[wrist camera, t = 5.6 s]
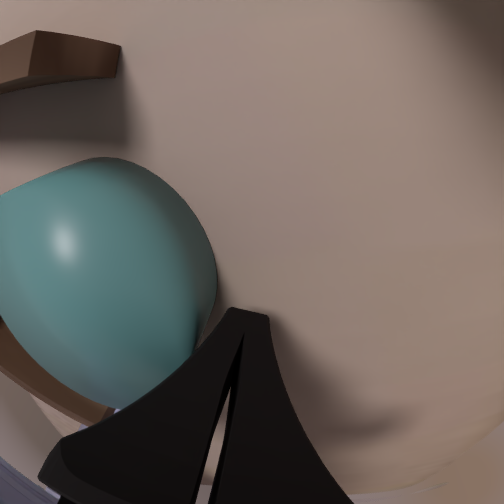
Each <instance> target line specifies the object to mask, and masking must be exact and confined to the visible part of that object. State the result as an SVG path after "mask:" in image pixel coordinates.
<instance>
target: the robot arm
mask: <svg viewBox="0 0 504 504" xmlns="http://www.w3.org/2000/svg"><path fill="white" fill-rule="evenodd" d="M230 387H231V390H230ZM229 390H230V398H229V405H228V413H227V420H226V428H225V434H224V440H223V445H222V449H221V453H220V457H219V461H218V465H217V469H216V473H215V477H214V481H213V485H212V489H211V493H210V497H209V501H208V504H354V503H353V502H352V501H351V500H350V499H349V497H348V496H347V495H346V494H345V492H344V491H343V490H342V489H341V487H340V486H339V485H338V484H337V482H336V481H335V480H334V478H333V477H332V475H331V474H330V472H329V471H328V470H327V468H326V467H325V465H324V464H323V462H322V461H321V459H320V457H319V456H318V454H317V452H316V451H315V449H314V447H313V446H312V444H311V442H310V441H309V439H308V437H307V435H306V434H305V432H304V430H303V428H302V426H301V424H300V422H299V420H298V417H297V415H296V413H295V411H294V409H293V406H292V404H291V401H290V399H289V396H288V394H287V391H286V388H285V386H284V383H283V380H282V377H281V374H280V370H279V367H278V363H277V360H276V356H275V352H274V348H273V343H272V338H271V332H270V324H269V317H268V316H267V315H264V314H260V313H255V312H251V311H247V310H243V309H238V308H234V307H231V308H228V309H227V311H226V313H225V315H224V316H223V318H222V319H221V321H220V322H219V324H218V325H217V326H216V328H215V329H214V330H213V332H212V333H211V334H210V335H209V336H208V337H207V339H206V340H205V341H204V342H203V343H202V344H201V346H200V347H199V348H198V349H197V350H196V351H195V352H194V353H193V354H192V355H191V356H190V357H189V358H188V359H187V360H186V361H185V362H184V363H183V364H182V365H181V366H180V367H179V368H178V369H176V370H175V371H174V372H173V373H172V374H171V375H170V376H168V377H167V378H166V379H165V380H164V381H162V382H161V383H160V384H159V385H157V386H156V387H155V388H153V389H152V390H150V391H149V392H148V393H146V394H145V395H143V396H142V397H141V398H139V399H138V400H136V401H135V402H133V403H132V404H130V405H128V406H127V407H125V408H123V409H122V410H120V409H116V410H115V412H114V414H113V415H111V416H109V417H107V418H106V419H104V420H102V421H100V422H98V423H96V424H94V425H92V426H89V427H88V426H86V425H84V424H81V426H80V428H79V430H78V431H77V432H75V433H73V434H71V435H68V436H66V437H63V438H62V439H60V441H59V442H58V443H57V444H56V446H55V447H54V448H53V450H52V451H51V452H50V453H49V455H48V457H47V459H46V460H45V462H44V464H43V466H42V468H41V470H40V472H39V474H38V479H39V481H41V482H42V483H44V484H45V485H47V486H48V487H47V488H46V490H44V489H43V488H42V487H40V486H38V485H36V484H35V483H33V482H32V481H31V480H29V479H28V478H27V477H25V476H24V475H23V474H21V473H20V472H19V471H17V470H16V469H15V468H13V467H12V466H11V465H10V464H8V463H7V462H6V461H5V460H4V459H3V458H1V457H0V504H195V502H196V499H197V495H198V491H199V487H200V483H201V480H202V476H203V472H204V468H205V464H206V460H207V456H208V453H209V449H210V445H211V441H212V438H213V435H214V432H215V429H216V426H217V423H218V420H219V418H220V415H221V412H222V409H223V407H224V404H225V401H226V398H227V396H228V393H229Z"/></svg>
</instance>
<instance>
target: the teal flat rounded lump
mask: <svg viewBox="0 0 504 504" xmlns="http://www.w3.org/2000/svg"><path fill="white" fill-rule="evenodd" d="M216 291H217V271H216V265H215V259H214V256H213V252H212V249H211V246H210V243H209V241H208V238H207V236H206V234H205V232H204V229H203V228H202V226H201V224H200V222H199V221H198V219H197V217H196V216H195V214H194V213H193V211H192V210H191V209H190V207H189V206H188V205H187V203H186V202H185V201H184V200H183V199H182V197H181V196H180V195H179V194H178V193H177V192H176V191H175V190H174V189H173V188H172V187H171V186H169V185H168V184H167V183H166V182H165V181H163V180H162V179H161V178H160V177H158V176H157V175H155V174H154V173H152V172H150V171H149V170H147V169H146V168H143V167H141V166H139V165H137V164H135V163H132V162H129V161H125V160H122V159H118V158H109V157H98V158H91V159H87V160H83V161H80V162H77V163H74V164H71V165H69V166H66V167H63V168H61V169H58V170H56V171H53V172H51V173H48V174H46V175H43V176H41V177H39V178H36V179H34V180H32V181H29V182H27V183H25V184H23V185H21V186H18V187H16V188H14V189H12V190H10V191H8V192H6V193H4V194H2V195H1V196H0V315H1V317H2V318H3V320H4V322H5V323H6V325H7V327H8V328H9V330H10V331H11V332H12V334H13V335H14V337H15V338H16V339H17V341H18V342H19V343H20V344H21V346H22V347H23V348H24V349H25V350H26V351H27V352H28V354H29V355H30V356H31V357H32V358H33V359H34V360H35V361H36V362H37V363H38V364H39V365H40V366H41V367H43V368H44V369H45V370H46V371H47V372H48V373H49V374H51V375H52V376H53V377H55V378H56V379H57V380H58V381H60V382H61V383H63V384H64V385H66V386H67V387H69V388H70V389H72V390H73V391H75V392H77V393H79V394H80V395H82V396H84V397H86V398H88V399H90V400H92V401H95V402H97V403H100V404H102V405H105V406H108V407H112V408H115V409H120V410H122V409H123V408H125V407H127V406H128V405H130V404H132V403H133V402H135V401H136V400H138V399H139V398H141V397H142V396H143V395H145V394H146V393H148V392H149V391H150V390H152V389H153V388H155V387H156V386H157V385H159V384H160V383H161V382H162V381H164V380H165V379H166V378H167V377H168V376H170V375H171V374H172V373H173V372H174V371H175V370H176V369H178V368H179V367H180V366H181V365H182V364H183V363H184V362H185V361H186V360H187V359H188V358H189V357H190V356H191V355H192V354H193V353H194V352H195V351H196V349H197V347H198V344H199V342H200V339H201V337H202V334H203V331H204V329H205V326H206V324H207V321H208V319H209V316H210V314H211V311H212V308H213V305H214V302H215V298H216Z"/></svg>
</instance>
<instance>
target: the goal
mask: <svg viewBox="0 0 504 504" xmlns="http://www.w3.org/2000/svg"><path fill="white" fill-rule="evenodd" d="M120 47H121V46H119V45H115V44H111V43H107V42H103V41H99V40H94V39H89V38H84V37H79V36H74V35H68V34H62V33H55V32H48V31H39V30H36V31H33V32H30V33H28V34H25V35H23V36H20V37H18V38H16V39H13V40H11V41H9V42H7V43H5V44H2V45H0V94H3V93H7V92H11V91H16V90H20V89H25V88H30V87H35V86H41V85H47V84H53V83H60V82H68V81H77V80H87V79H100V78H115V74H116V68H117V62H118V57H119V52H120ZM0 371H1V372H2V373H4V374H5V375H6V376H7V377H9V378H10V379H12V380H13V381H14V382H16V383H17V384H18V385H20V386H21V387H23V388H24V389H25V390H27V391H28V392H30V393H31V394H33V395H34V396H36V397H37V398H39V399H40V400H42V401H43V402H45V403H47V404H48V405H50V406H51V407H53V408H55V409H56V410H58V411H60V412H62V413H63V414H65V415H67V416H69V417H70V418H72V419H74V420H76V421H78V422H80V423H82V424H84V425H86V426H88V427H89V426H92V425H94V424H96V423H98V422H100V421H102V420H104V419H106V418H107V417H109V416H111V415H113V414H114V412H115V410H116V409H115V408H112V407H108V406H105V405H102V404H100V403H97V402H95V401H92V400H90V399H88V398H86V397H84V396H82V395H80V394H79V393H77V392H75V391H73V390H72V389H70V388H69V387H67V386H66V385H64V384H63V383H61V382H60V381H58V380H57V379H56V378H55V377H53V376H52V375H51V374H49V373H48V372H47V371H46V370H45V369H44V368H43V367H41V366H40V365H39V364H38V363H37V362H36V361H35V360H34V359H33V358H32V357H31V356H30V355H29V354H28V352H27V351H26V350H25V349H24V348H23V347H22V346H21V344H20V343H19V342H18V341H17V339H16V338H15V337H14V335H13V334H12V332H11V331H10V330H9V328H8V327H7V325H6V323H5V322H4V320H3V318H2V317H1V315H0Z"/></svg>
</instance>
